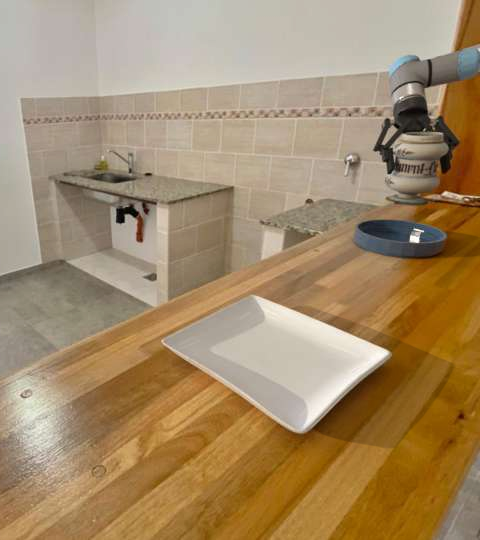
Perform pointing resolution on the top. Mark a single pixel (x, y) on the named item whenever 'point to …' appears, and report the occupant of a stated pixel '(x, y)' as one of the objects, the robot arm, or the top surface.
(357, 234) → the bowl
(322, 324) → the square plate
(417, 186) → the apothecary jar
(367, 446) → the top surface
